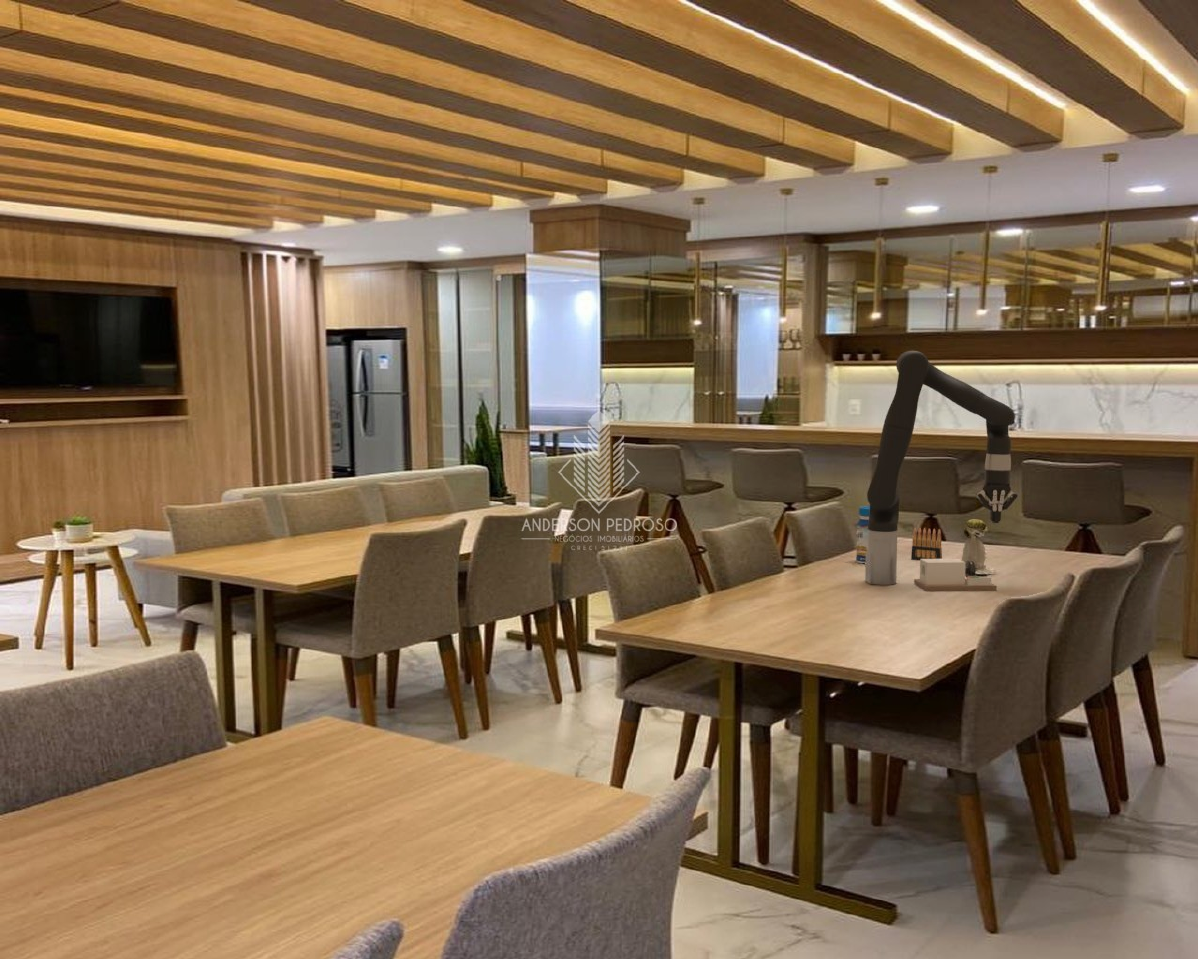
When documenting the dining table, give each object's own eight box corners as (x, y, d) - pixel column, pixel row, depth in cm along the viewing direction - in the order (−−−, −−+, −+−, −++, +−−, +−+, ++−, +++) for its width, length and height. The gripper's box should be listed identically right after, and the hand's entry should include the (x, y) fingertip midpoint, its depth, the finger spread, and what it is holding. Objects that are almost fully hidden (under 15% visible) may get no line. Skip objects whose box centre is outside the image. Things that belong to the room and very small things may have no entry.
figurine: (948, 573, 356) (949, 519, 354) (965, 567, 365) (967, 515, 363) (982, 577, 347) (983, 522, 346) (999, 572, 357) (1000, 518, 355)
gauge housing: (925, 591, 326) (926, 564, 325) (914, 583, 338) (914, 557, 337) (996, 590, 326) (997, 563, 325) (982, 583, 338) (983, 557, 337)
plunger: (934, 582, 326) (935, 564, 326) (926, 577, 335) (927, 559, 334) (978, 581, 326) (978, 563, 326) (969, 576, 334) (969, 559, 334)
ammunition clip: (911, 559, 383) (911, 527, 382) (912, 559, 385) (913, 526, 383) (940, 562, 377) (941, 529, 376) (941, 561, 378) (942, 528, 377)
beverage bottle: (880, 564, 373) (881, 508, 371) (856, 564, 375) (857, 508, 373) (879, 560, 381) (880, 506, 379) (855, 560, 383) (856, 505, 381)
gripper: (980, 469, 326) (978, 524, 328) (1023, 469, 326) (1020, 524, 328) (972, 467, 334) (970, 521, 336) (1014, 467, 334) (1011, 521, 335)
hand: (995, 522), depth 332 cm, fingers closed
